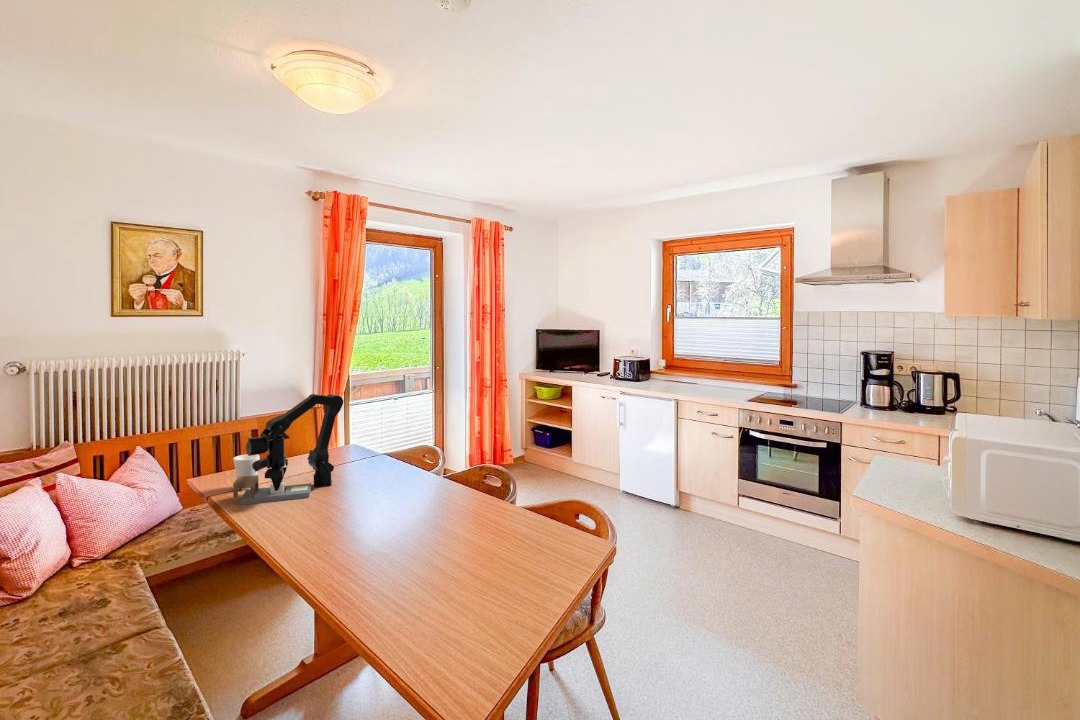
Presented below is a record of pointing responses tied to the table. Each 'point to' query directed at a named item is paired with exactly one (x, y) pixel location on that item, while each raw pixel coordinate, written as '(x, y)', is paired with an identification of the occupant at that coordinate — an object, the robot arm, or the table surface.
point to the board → (265, 495)
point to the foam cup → (245, 465)
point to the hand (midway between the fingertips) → (277, 488)
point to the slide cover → (245, 485)
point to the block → (281, 488)
